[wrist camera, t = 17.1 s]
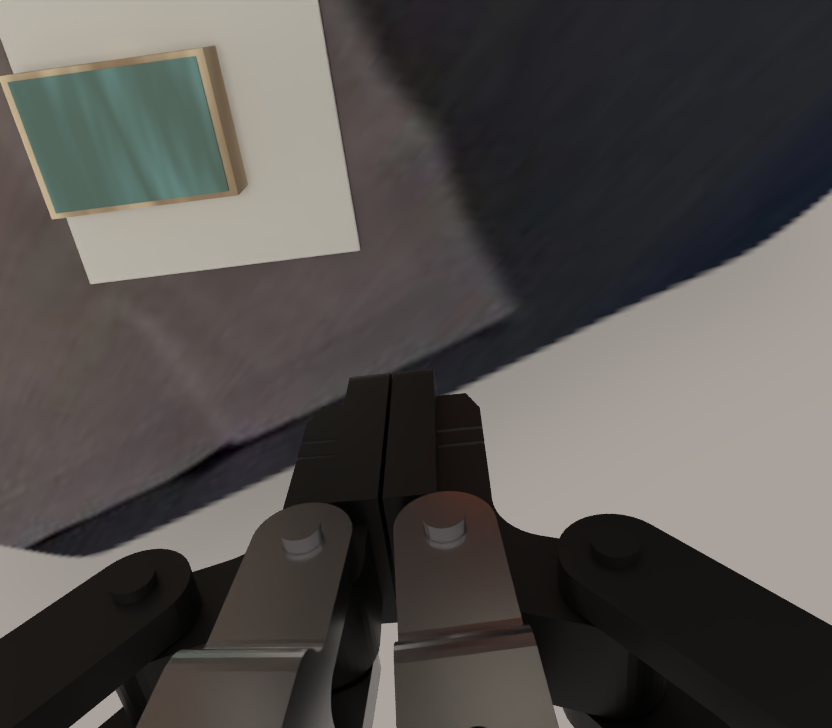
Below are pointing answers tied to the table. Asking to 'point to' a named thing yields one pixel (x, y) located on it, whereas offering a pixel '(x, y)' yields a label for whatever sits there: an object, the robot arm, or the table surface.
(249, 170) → the mat
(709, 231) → the table surface
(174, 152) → the slab
